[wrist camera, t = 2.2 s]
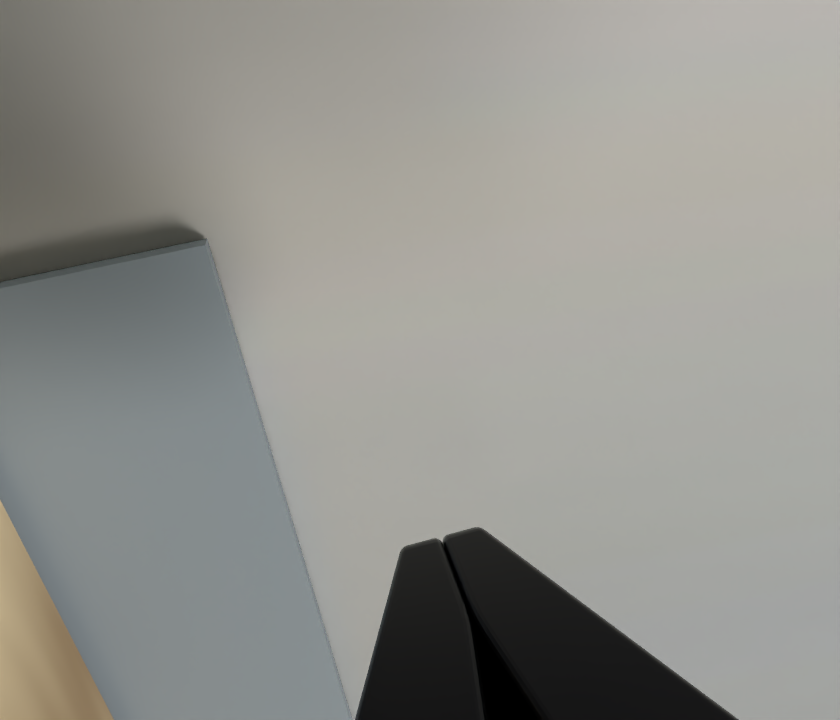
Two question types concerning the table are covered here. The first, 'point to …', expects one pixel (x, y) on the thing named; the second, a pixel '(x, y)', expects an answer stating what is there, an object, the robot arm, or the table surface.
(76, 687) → the fence panel
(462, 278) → the table surface
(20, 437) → the card
